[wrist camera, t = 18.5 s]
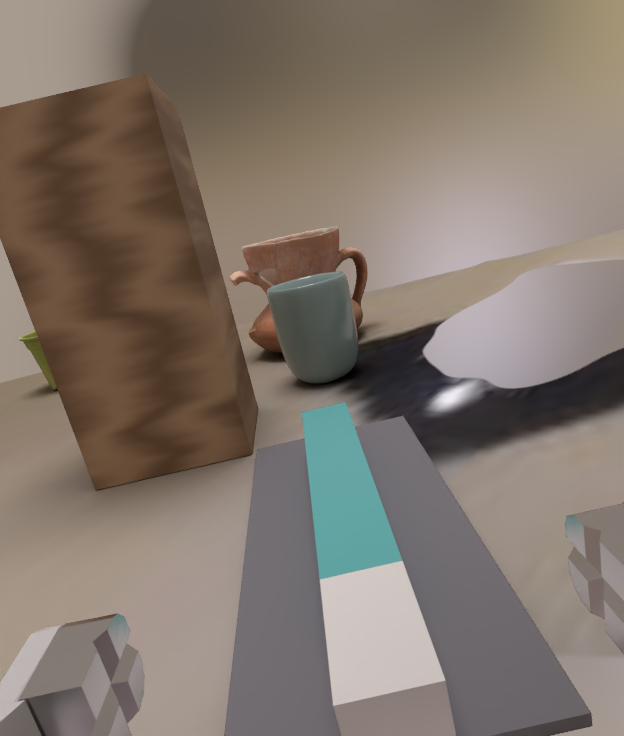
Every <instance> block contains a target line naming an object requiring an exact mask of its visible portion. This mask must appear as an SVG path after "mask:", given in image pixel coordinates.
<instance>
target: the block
mask: <svg viewBox="0 0 624 736" xmlns="http://www.w3.org/2000/svg"><path fill="white" fill-rule="evenodd" d="M302 419H303V428H304V438H305V447H306V456H307V466H308V475H309V484H310V494H311V503H312V513H313V522H314V531H315V541H316V550H317V559H318V569H319V578H320V587H321V597H322V606H323V616H324V625H325V634H326V644H327V653H328V662H329V672H330V681H331V690H332V700H333V707H334V711H335V715H336V718H337V722H338V726H339V729H340V733H341V736H456V732H455V727H454V722H453V716H452V711H451V706H450V701H449V696H448V690H447V685H446V680H445V677H444V675H443V672H442V669H441V666H440V663H439V661H438V658H437V655H436V652H435V650H434V647H433V644H432V641H431V638H430V636H429V633H428V630H427V627H426V625H425V622H424V619H423V616H422V613H421V611H420V608H419V605H418V602H417V600H416V597H415V594H414V591H413V588H412V586H411V583H410V580H409V577H408V575H407V572H406V569H405V566H404V563H403V561H402V558H401V555H400V552H399V550H398V547H397V544H396V541H395V538H394V536H393V533H392V530H391V527H390V525H389V522H388V519H387V516H386V513H385V511H384V508H383V505H382V502H381V500H380V497H379V494H378V491H377V488H376V486H375V483H374V480H373V477H372V475H371V472H370V469H369V466H368V463H367V461H366V458H365V455H364V452H363V450H362V447H361V444H360V441H359V438H358V436H357V433H356V430H355V427H354V425H353V422H352V419H351V416H350V413H349V411H348V408H347V405H346V402H345V403H340V404H336V405H332V406H327V407H323V408H319V409H314V410H310V411H306V412H302Z"/></svg>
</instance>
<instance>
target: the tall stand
mask: <svg viewBox="0 0 624 736" xmlns="http://www.w3.org/2000/svg"><path fill="white" fill-rule="evenodd" d="M0 239H1V241H2V244H3V247H4V249H5V252H6V255H7V257H8V260H9V263H10V265H11V268H12V271H13V273H14V276H15V278H16V281H17V284H18V286H19V289H20V292H21V294H22V297H23V300H24V302H25V305H26V307H27V310H28V313H29V315H30V318H31V321H32V323H33V326H34V329H35V331H36V334H37V337H38V339H39V342H40V344H41V347H42V350H43V352H44V355H45V358H46V360H47V363H48V366H49V368H50V371H51V374H52V376H53V379H54V381H55V384H56V387H57V389H58V392H59V395H60V397H61V400H62V403H63V405H64V408H65V410H66V413H67V416H68V418H69V421H70V424H71V426H72V429H73V432H74V434H75V437H76V440H77V442H78V445H79V447H80V450H81V453H82V455H83V458H84V461H85V463H86V466H87V469H88V471H89V474H90V477H91V479H92V482H93V484H94V487H95V490H99V489H103V488H108V487H112V486H116V485H121V484H125V483H129V482H134V481H138V480H142V479H147V478H151V477H156V476H160V475H164V474H169V473H173V472H177V471H182V470H186V469H190V468H195V467H199V466H203V465H208V464H212V463H216V462H221V461H225V460H230V459H234V458H238V457H243V456H247V455H251V454H252V452H253V444H254V437H255V429H256V421H257V414H258V406H257V402H256V399H255V395H254V391H253V387H252V384H251V380H250V376H249V373H248V369H247V365H246V361H245V358H244V354H243V350H242V346H241V343H240V339H239V335H238V332H237V328H236V324H235V320H234V317H233V313H232V309H231V305H230V302H229V298H228V294H227V291H226V287H225V283H224V280H223V276H222V272H221V268H220V265H219V261H218V257H217V253H216V250H215V246H214V242H213V239H212V235H211V231H210V227H209V223H208V220H207V216H206V212H205V209H204V205H203V202H202V198H201V194H200V190H199V186H198V183H197V179H196V175H195V172H194V168H193V164H192V160H191V157H190V153H189V149H188V145H187V142H186V138H185V134H184V130H183V127H182V123H181V119H180V116H179V112H178V109H177V108H176V106H175V105H174V104H173V103H172V102H171V101H170V100H169V99H168V98H167V97H166V95H165V94H164V93H163V92H162V91H161V90H160V89H159V88H158V87H157V85H156V84H155V83H154V82H153V81H152V80H151V79H150V77H149V76H148V75H147V74H142V75H138V76H133V77H129V78H125V79H120V80H116V81H112V82H108V83H104V84H99V85H95V86H91V87H87V88H82V89H78V90H74V91H69V92H65V93H61V94H56V95H52V96H48V97H44V98H39V99H35V100H31V101H27V102H22V103H18V104H14V105H10V106H5V107H1V108H0Z"/></svg>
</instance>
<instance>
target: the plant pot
mask: <svg viewBox="0 0 624 736" xmlns="http://www.w3.org/2000/svg"><path fill="white" fill-rule="evenodd" d="M19 340H20V341H23V342H24V343H25V345H26V347H27V348H28V349H29V350H30V351H31V353H32V354H33V356H34V358H35V360H36V361H37V363H38V364H39V366H40V368H41V370H42V372H43V374H44V375H45V377H46V379H47V381H48V382H49V384H50V386H51V388H52V389H53V390H56V389H57V387H56V384H55V381H54V379H53V376H52V374H51V371H50V368H49V366H48V363H47V360H46V358H45V355H44V352H43V350H42V347H41V344H40V342H39V339H38V337H37V334H36V331H35V332H32V333H29V334H27V335H24V336H22V337H20V338H19Z"/></svg>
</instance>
